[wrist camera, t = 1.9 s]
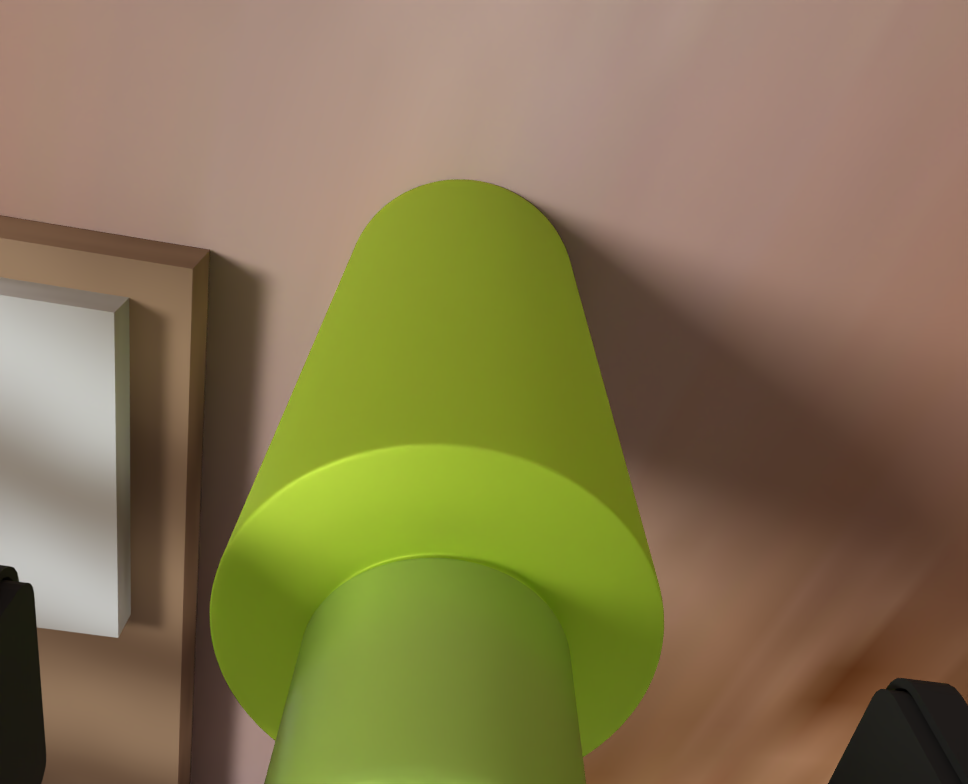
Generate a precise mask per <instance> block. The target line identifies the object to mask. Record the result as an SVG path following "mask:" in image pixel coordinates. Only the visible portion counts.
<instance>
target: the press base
mask: <svg viewBox="0 0 968 784" xmlns="http://www.w3.org/2000/svg"><path fill="white" fill-rule="evenodd" d="M209 259H210V250H207V249H201V248H195V247H189V246H183V245H176V244H170V243H164V242H158V241H152V240H146V239H140V238H134V237H128V236H122V235H115V234H109V233H103V232H97V231H91V230H85V229H79V228H73V227H67V226H61V225H54V224H48V223H42V222H36V221H30V220H24V219H18V218H12V217H6V216H0V565H4V566H11V567H14V568H15V570H16V571H17V573H18V578H19V582H25V583H30V584H31V585H32V586H33V590H34V597H35V611H36V624H37V637H38V650H39V664H40V677H41V690H42V703H43V717H44V730H45V743H46V767H45V772H44V776H43V780H42V783H41V784H190V769H191V742H192V715H193V689H194V662H195V635H196V608H197V581H198V554H199V528H200V501H201V474H202V447H203V420H204V393H205V367H206V340H207V313H208V286H209Z"/></svg>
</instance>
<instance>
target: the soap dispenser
mask: <svg viewBox="0 0 968 784" xmlns="http://www.w3.org/2000/svg"><path fill="white" fill-rule="evenodd" d="M210 630H211V637H212V643H213V648H214V652H215V655H216V658H217V661H218V664H219V667H220V669H221V672H222V674H223V676H224V678H225V680H226V682H227V684H228V686H229V688H230V689H231V691H232V693H233V694H234V696H235V697H236V699H237V700H238V702H239V703H240V705H241V706H242V707H243V709H244V710H245V711H246V712H247V714H248V715H249V716H250V717H251V718H252V719H253V720H254V721H255V722H256V724H257V725H258V726H259V727H260V728H261V729H263V730H264V731H265V732H266V733H267V734H268V735H269V736H270V737H271V738H273V739H274V740H275V745H274V749H273V752H272V756H271V760H270V764H269V768H268V772H267V775H266V779H265V783H264V784H586V779H585V771H584V763H583V757H584V756H585V755H587V754H588V753H590V752H591V751H593V750H594V749H595V748H597V747H598V746H599V745H601V744H602V743H603V742H604V741H606V740H607V739H608V738H609V737H610V736H611V735H612V734H613V733H614V732H615V731H616V730H618V729H619V727H620V726H621V725H622V724H623V723H624V722H625V721H626V720H627V719H628V717H629V716H630V715H631V714H632V712H633V711H634V710H635V708H636V707H637V705H638V704H639V703H640V701H641V699H642V698H643V696H644V694H645V693H646V691H647V689H648V687H649V685H650V683H651V681H652V679H653V676H654V673H655V671H656V668H657V665H658V662H659V658H660V654H661V649H662V643H663V634H664V611H663V603H662V596H661V591H660V587H659V583H658V579H657V576H656V572H655V568H654V565H653V561H652V557H651V554H650V550H649V547H648V543H647V539H646V536H645V532H644V528H643V525H642V521H641V517H640V514H639V510H638V507H637V503H636V499H635V496H634V492H633V488H632V485H631V481H630V477H629V474H628V470H627V467H626V463H625V459H624V456H623V452H622V448H621V445H620V441H619V437H618V434H617V430H616V427H615V423H614V419H613V416H612V412H611V408H610V405H609V401H608V397H607V394H606V390H605V387H604V383H603V379H602V376H601V372H600V368H599V365H598V361H597V357H596V354H595V350H594V346H593V343H592V339H591V336H590V332H589V328H588V325H587V321H586V317H585V314H584V310H583V306H582V303H581V299H580V296H579V292H578V288H577V285H576V281H575V277H574V274H573V270H572V266H571V263H570V259H569V256H568V253H567V251H566V248H565V246H564V244H563V242H562V240H561V238H560V236H559V234H558V233H557V231H556V230H555V228H554V227H553V225H552V224H551V223H550V222H549V220H548V219H547V218H546V217H545V216H544V215H543V214H542V213H541V212H540V211H539V210H538V209H537V208H536V207H534V206H533V205H532V204H531V203H529V202H528V201H527V200H525V199H524V198H522V197H520V196H519V195H517V194H515V193H513V192H511V191H509V190H507V189H504V188H502V187H499V186H496V185H493V184H489V183H485V182H481V181H474V180H444V181H438V182H433V183H429V184H425V185H422V186H419V187H417V188H414V189H412V190H410V191H408V192H406V193H404V194H402V195H400V196H398V197H397V198H395V199H394V200H392V201H391V202H390V203H388V204H387V205H386V206H385V207H383V208H382V209H381V210H380V211H379V212H378V213H377V214H376V215H375V216H374V217H373V219H372V220H371V221H370V222H369V223H368V225H367V226H366V228H365V229H364V231H363V232H362V234H361V236H360V237H359V239H358V241H357V243H356V246H355V248H354V250H353V253H352V255H351V257H350V260H349V262H348V264H347V267H346V269H345V271H344V274H343V276H342V278H341V281H340V283H339V285H338V288H337V290H336V292H335V295H334V297H333V299H332V302H331V304H330V306H329V309H328V311H327V313H326V316H325V318H324V320H323V323H322V325H321V327H320V330H319V332H318V334H317V337H316V339H315V341H314V344H313V346H312V348H311V351H310V353H309V355H308V358H307V360H306V362H305V365H304V367H303V369H302V372H301V374H300V376H299V379H298V381H297V383H296V386H295V388H294V390H293V393H292V395H291V397H290V400H289V402H288V404H287V407H286V409H285V411H284V414H283V416H282V418H281V421H280V423H279V425H278V427H277V430H276V432H275V434H274V437H273V439H272V441H271V444H270V446H269V448H268V451H267V453H266V455H265V458H264V460H263V462H262V465H261V467H260V469H259V472H258V474H257V476H256V479H255V481H254V483H253V486H252V488H251V490H250V493H249V495H248V497H247V500H246V502H245V504H244V507H243V509H242V511H241V514H240V516H239V518H238V521H237V523H236V525H235V528H234V530H233V532H232V535H231V537H230V539H229V542H228V544H227V546H226V549H225V551H224V553H223V556H222V558H221V560H220V563H219V566H218V569H217V572H216V575H215V579H214V583H213V587H212V593H211V600H210Z"/></svg>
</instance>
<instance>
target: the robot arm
mask: <svg viewBox="0 0 968 784" xmlns="http://www.w3.org/2000/svg"><path fill="white" fill-rule="evenodd" d="M45 767H46V743H45V730H44V717H43V703H42V690H41V677H40V664H39V650H38V637H37V624H36V611H35V597H34V590H33V586H32V585H31V584H30V583H25V582H19V578H18V573H17V571H16V570H15V568H14V567H11V566H4V565H0V784H41V783H42V780H43V776H44V772H45ZM828 784H968V705H967V704H966V702H965V701H964V699H963V697H962V696H961V695H960V693H959V692H958V691H957V690H956V689H955V688H954V687H952V686H951V685H949V684H945V683H937V682H929V681H921V680H913V679H905V678H897V679H895V680H893V681H892V682H891V683H890V684H889V686H888V687H887V688H886V689H880V690H879V691H877V692H876V693H875V694H874V696H873V697H872V699H871V701H870V703H869V705H868V707H867V709H866V711H865V713H864V715H863V717H862V719H861V721H860V723H859V725H858V727H857V728H856V730H855V732H854V734H853V736H852V738H851V740H850V742H849V744H848V746H847V748H846V750H845V752H844V754H843V756H842V758H841V760H840V762H839V763H838V765H837V767H836V769H835V771H834V773H833V775H832V777H831V779H830V781H829V783H828Z"/></svg>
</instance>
